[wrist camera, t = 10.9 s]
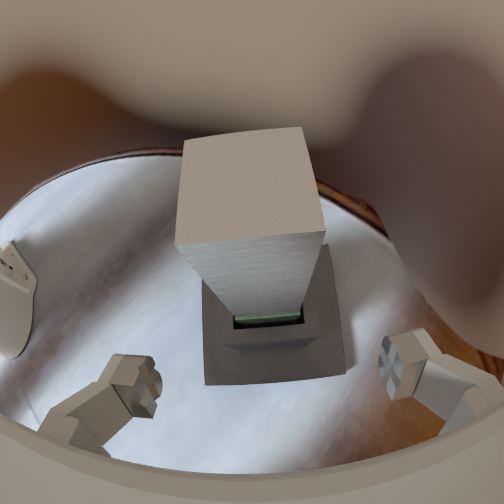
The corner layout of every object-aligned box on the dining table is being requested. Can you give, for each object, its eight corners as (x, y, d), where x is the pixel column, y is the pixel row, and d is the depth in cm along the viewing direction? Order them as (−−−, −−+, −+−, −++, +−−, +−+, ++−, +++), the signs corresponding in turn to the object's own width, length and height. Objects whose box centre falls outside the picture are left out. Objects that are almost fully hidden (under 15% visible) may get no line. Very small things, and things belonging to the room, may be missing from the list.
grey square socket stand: (208, 384, 27) (170, 392, 17) (205, 261, 32) (173, 213, 22) (342, 373, 26) (376, 376, 16) (326, 249, 31) (344, 196, 22)
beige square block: (245, 331, 23) (170, 249, 7) (243, 283, 25) (182, 137, 9) (295, 326, 23) (330, 233, 7) (290, 279, 25) (303, 122, 9)
